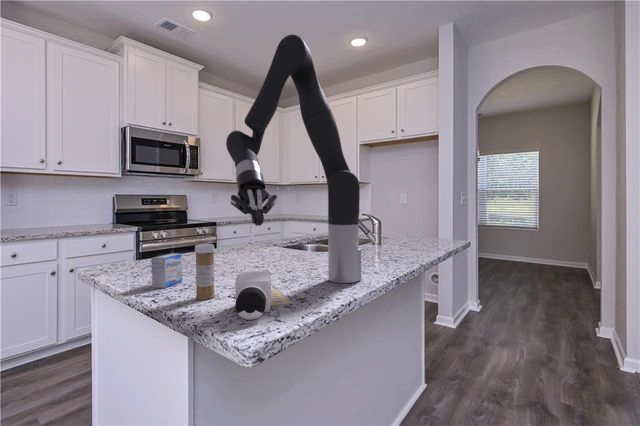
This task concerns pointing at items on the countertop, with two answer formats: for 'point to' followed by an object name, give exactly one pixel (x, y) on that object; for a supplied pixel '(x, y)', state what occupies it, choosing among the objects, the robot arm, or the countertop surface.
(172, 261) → the medicine box
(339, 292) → the countertop surface
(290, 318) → the countertop surface
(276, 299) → the letter
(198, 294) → the sprinkles bottle
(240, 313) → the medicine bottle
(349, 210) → the robot arm
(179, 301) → the countertop surface
